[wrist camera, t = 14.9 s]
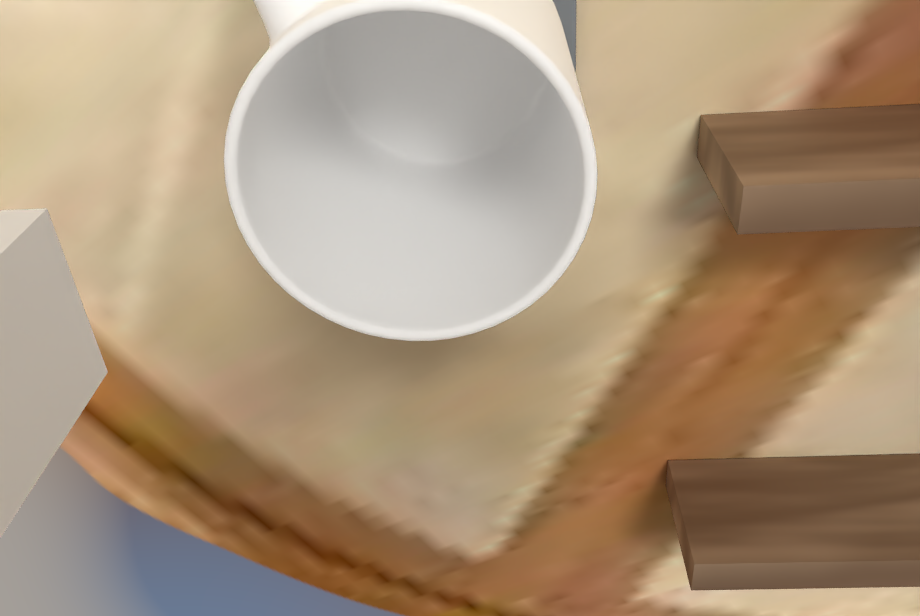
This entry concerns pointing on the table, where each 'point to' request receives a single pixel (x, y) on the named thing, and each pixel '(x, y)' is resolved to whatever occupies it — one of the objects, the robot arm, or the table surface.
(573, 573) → the table surface
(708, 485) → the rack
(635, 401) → the table surface
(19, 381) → the robot arm
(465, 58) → the mug
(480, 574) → the table surface
